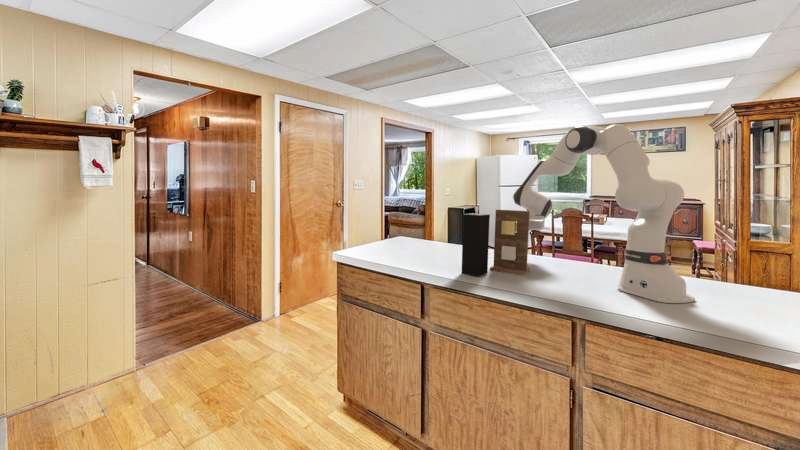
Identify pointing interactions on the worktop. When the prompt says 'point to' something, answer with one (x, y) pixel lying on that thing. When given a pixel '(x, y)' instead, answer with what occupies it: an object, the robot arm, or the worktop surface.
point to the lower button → (508, 253)
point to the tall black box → (475, 243)
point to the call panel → (511, 242)
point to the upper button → (508, 227)
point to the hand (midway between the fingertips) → (516, 224)
